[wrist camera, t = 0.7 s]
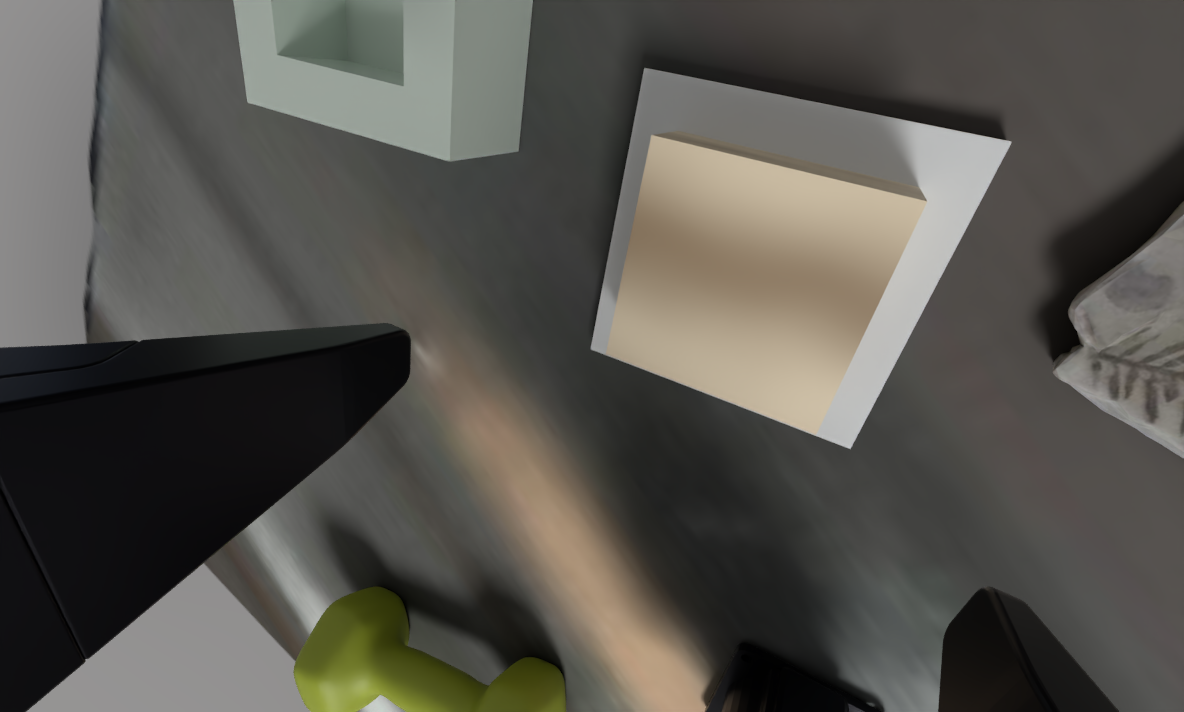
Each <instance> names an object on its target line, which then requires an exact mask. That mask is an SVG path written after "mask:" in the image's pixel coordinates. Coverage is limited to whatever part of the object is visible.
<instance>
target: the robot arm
mask: <svg viewBox="0 0 1184 712" xmlns="http://www.w3.org/2000/svg"><path fill="white" fill-rule="evenodd" d="M410 354H411V339H410V336H409V333H408V332H407V331H405V330H403V329H401V328H399V327H396V326H394V325H392V324H388V323H380V324H366V325H351V326H337V327H323V328H308V329H294V330H279V331H265V332H251V333H236V334H222V335H208V336H193V337H179V338H164V339H150V340H142V341H140V342H138V341H120V342H106V343H89V344H72V345H55V346H31V347H8V348H7V347H6V348H0V712H26V711H27V710H29V709H30V708H31V707H32V706H33V705H35V704H36V703H37V702H38V701H39V700H41V699H42V698H43V697H44V696H45V695H47V694H48V693H49V692H50V691H51V690H52V689H54V688H55V687H56V686H57V685H59V684H60V683H61V682H62V681H63V680H64V679H66V678H67V677H68V676H69V675H71V674H72V673H73V672H74V671H75V670H77V669H78V668H79V667H80V666H81V665H82V664H84V663H85V659H89V658H90V657H91V656H92V655H94V654H95V653H96V652H97V651H99V650H100V649H101V648H102V647H103V646H105V645H106V644H107V643H108V642H109V641H111V640H112V639H113V638H114V637H115V636H116V635H118V634H119V633H120V632H121V631H123V630H124V629H125V628H126V627H127V626H129V625H130V624H131V623H132V622H133V621H135V620H136V619H137V618H138V617H139V616H140V615H142V614H143V613H144V612H145V611H146V610H148V609H149V608H150V607H151V606H153V605H154V604H155V603H156V602H157V601H159V600H160V599H161V598H162V597H163V596H165V595H166V594H167V593H168V592H169V591H171V590H172V589H173V588H174V587H175V586H176V585H178V584H179V583H180V582H181V581H183V580H184V579H185V578H186V577H187V576H189V575H190V574H191V573H192V572H193V571H195V570H196V569H197V568H198V567H199V566H200V565H202V564H203V563H204V562H205V561H207V560H208V559H209V558H210V557H211V556H213V555H214V554H215V553H216V552H217V551H219V550H220V549H221V548H222V547H223V546H225V545H226V544H227V543H228V542H229V541H231V540H232V539H233V538H234V537H235V536H237V535H238V534H239V533H240V532H241V531H243V530H244V529H245V528H246V527H247V526H249V525H250V524H251V523H252V522H253V521H255V520H256V519H257V518H258V517H259V516H261V515H262V514H263V513H264V512H265V511H267V510H268V509H269V508H270V507H271V506H273V505H274V504H275V503H276V502H277V501H279V500H280V499H281V498H282V497H283V496H285V495H286V494H287V493H288V492H289V491H291V490H292V489H293V488H294V487H295V486H297V485H298V484H299V483H300V482H301V481H303V480H304V479H305V478H306V477H307V476H309V475H310V474H311V473H312V472H313V471H315V470H316V469H317V468H318V467H319V466H321V465H322V464H323V463H324V462H325V461H327V460H328V459H329V458H330V457H331V456H333V455H334V454H335V453H336V452H337V451H338V450H339V449H341V448H342V447H343V446H344V445H345V444H346V443H347V442H348V441H349V440H350V439H351V438H353V437H354V436H355V435H356V434H357V433H358V432H359V431H360V430H361V429H362V428H363V427H364V426H365V425H366V423H367V422H368V421H369V420H370V419H371V418H372V417H373V416H374V415H375V414H376V413H377V412H378V411H379V410H380V409H381V408H382V407H383V406H384V405H385V404H386V403H387V402H388V401H389V400H390V399H391V398H392V397H393V396H394V395H395V394H396V393H397V392H398V391H399V390H400V389H401V388H402V387H403V386H404V385H405V383H406V382H407V380H408V378H409V375H410ZM705 712H881V711H879V710H877V709H875V708H873V707H871V706H869V705H868V704H866V703H864V702H862V701H860V700H858V699H856V698H854V697H852V696H850V695H848V694H846V693H844V692H842V691H840V690H839V689H837V688H835V687H833V686H831V685H829V684H827V683H825V682H823V681H821V680H819V679H817V678H815V677H813V676H811V675H809V674H808V673H806V672H804V671H802V670H800V669H798V668H796V667H794V666H792V665H790V664H788V663H786V662H784V661H782V660H780V659H779V658H777V657H775V656H773V655H771V654H769V653H767V652H765V651H763V650H761V649H759V648H757V647H755V646H753V645H751V644H749V643H741V644H739V645H738V647H737V649H736V651H735V652H734V654H733V656H732V658H731V660H730V662H729V664H728V666H727V668H726V670H725V672H724V674H723V676H722V678H721V680H720V682H719V684H718V686H717V688H716V690H715V692H714V694H713V695H712V697H711V699H710V701H709V703H708V705H707V707H706V710H705ZM938 712H1119V711H1118V709H1117V708H1116V707H1115V706H1114V705H1113V704H1112V702H1111V701H1110V700H1109V699H1108V698H1107V697H1106V695H1105V694H1104V693H1103V692H1102V691H1101V690H1100V688H1099V687H1098V686H1097V685H1096V684H1095V683H1094V681H1093V680H1092V679H1091V678H1090V677H1089V676H1088V675H1087V673H1086V672H1085V671H1084V670H1083V669H1082V668H1081V666H1080V665H1079V664H1078V663H1077V662H1076V661H1075V659H1074V658H1073V657H1072V656H1071V655H1070V654H1069V652H1068V651H1067V650H1066V649H1065V648H1064V647H1063V645H1062V644H1061V643H1060V642H1059V641H1058V640H1057V638H1056V637H1055V636H1054V635H1053V634H1052V633H1051V631H1050V630H1049V629H1048V628H1047V627H1046V626H1045V625H1044V623H1043V622H1042V621H1041V620H1040V619H1039V618H1038V616H1037V615H1036V614H1035V613H1034V612H1033V611H1032V609H1031V608H1030V607H1029V606H1028V605H1027V604H1026V603H1025V602H1023V601H1022V600H1020V599H1018V598H1016V597H1013V596H1011V595H1009V594H1007V593H1004V592H1002V591H1000V590H997V589H995V588H993V587H982V588H981V589H979V590H978V591H977V592H976V593H975V594H974V595H973V596H972V597H971V599H970V600H969V601H968V602H967V603H966V605H965V606H964V607H963V608H962V609H961V611H960V612H959V613H958V614H957V615H956V617H955V618H954V619H953V620H952V621H951V623H950V624H949V626H948V627H947V629H946V632H945V635H944V639H943V650H942V664H941V679H940V694H939V709H938Z"/></svg>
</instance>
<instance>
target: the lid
mask: <svg viewBox="0 0 1184 712" xmlns="http://www.w3.org/2000/svg"><path fill="white" fill-rule="evenodd" d="M926 204H927V200H926V198H925V196H924V194H923V193H922V191H921V189H920V187H916V186H912V185H907V184H903V183H899V182H895V181H890V180H886V179H882V178H877V177H873V176H869V175H865V174H860V173H856V172H852V171H848V170H843V169H839V168H835V167H831V166H826V165H822V164H818V163H814V162H809V161H805V160H801V159H796V158H792V157H788V156H784V155H779V154H775V153H771V152H767V151H762V150H758V149H754V148H750V147H745V146H741V145H737V144H733V143H728V142H724V141H720V140H715V139H711V138H707V137H703V136H698V135H694V134H690V133H686V132H681V131H674V132H667V133H661V134H655V135H651V140H650V145H649V149H648V154H647V159H646V164H645V169H644V173H643V178H642V183H641V188H640V193H639V197H638V202H637V207H636V212H635V216H634V221H633V226H632V231H631V236H630V240H629V245H628V250H627V255H626V260H625V264H624V269H623V274H622V279H621V283H620V288H619V293H618V298H617V303H616V307H615V312H614V317H613V322H612V327H611V331H610V336H609V341H608V346H607V350H606V355H609V356H612V357H614V358H617V359H619V360H622V361H625V362H627V363H630V364H632V365H635V366H638V367H640V368H643V369H645V370H648V371H651V372H653V373H656V374H658V375H661V376H664V377H666V378H669V379H671V380H674V381H677V382H679V383H682V384H685V385H687V386H690V387H692V388H695V389H698V390H700V391H703V392H705V393H708V394H711V395H713V396H716V397H718V398H721V399H724V400H726V401H729V402H731V403H734V404H737V405H739V406H742V407H744V408H747V409H750V410H752V411H755V412H758V413H760V414H763V415H765V416H768V417H771V418H773V419H776V420H778V421H781V422H784V423H786V424H789V425H791V426H794V427H797V428H799V429H802V430H804V431H807V432H810V433H812V434H815V435H816V434H817V432H818V430H819V428H820V426H821V424H822V422H823V419H824V417H825V415H826V413H827V411H828V409H829V407H830V405H831V403H832V401H833V399H834V396H835V394H836V392H837V390H838V388H839V386H840V384H841V382H842V380H843V378H844V375H845V373H846V371H847V369H848V367H849V365H850V363H851V361H852V359H853V357H854V354H855V352H856V350H857V348H858V346H859V344H860V342H861V340H862V338H863V336H864V334H865V331H866V329H867V327H868V325H869V323H870V321H871V319H872V317H873V315H874V313H875V310H876V308H877V306H878V304H879V302H880V300H881V298H882V296H883V294H884V292H885V289H886V287H887V285H888V283H889V281H890V279H891V277H892V275H893V273H894V271H895V269H896V266H897V264H898V262H899V260H900V258H901V256H902V254H903V252H904V250H905V248H906V245H907V243H908V241H909V239H910V237H911V235H912V233H913V231H914V229H915V227H916V224H917V222H918V220H919V218H920V216H921V214H922V212H923V210H924V208H925V206H926Z"/></svg>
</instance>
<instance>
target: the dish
mask: <svg viewBox="0 0 1184 712" xmlns="http://www.w3.org/2000/svg"><path fill="white" fill-rule="evenodd" d="M233 1H234V8H235V16H236V23H237V30H238V37H239V44H240V52H241V59H242V66H243V73H244V80H245V88H246V95H247V102H248V103H251V104H254V105H258V106H261V107H265V108H268V109H271V110H275V111H278V112H282V113H285V114H289V115H292V116H295V117H299V118H302V119H306V120H309V121H312V122H316V123H319V124H323V125H326V126H330V127H333V128H336V129H340V130H343V131H347V132H350V133H353V134H357V135H360V136H364V137H367V138H371V139H374V140H377V141H381V142H384V143H388V144H391V145H395V146H398V147H401V148H405V149H408V150H412V151H415V152H418V153H422V154H425V155H429V156H432V157H436V158H439V159H442V160H446V161H449V162H450V161H457V160H464V159H471V158H478V157H485V156H492V155H499V154H506V153H512V152H519V142H520V132H521V121H522V111H523V100H524V89H525V79H526V68H527V58H528V47H529V37H530V26H531V15H532V5H533V0H233Z"/></svg>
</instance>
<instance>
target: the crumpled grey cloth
mask: <svg viewBox="0 0 1184 712" xmlns="http://www.w3.org/2000/svg"><path fill="white" fill-rule="evenodd" d="M1068 314H1069V318H1070V320H1071V322H1072V324H1073V326H1074V327H1075V329H1076V331H1077V333H1078V336H1079V340H1080V345H1078V346H1075V347H1072V349H1071V351H1069V352H1066V353H1062V354H1061V355H1060V356H1059V357H1057V358H1056V359H1055V361H1054V363H1053V365H1054V368H1053V373H1054V375H1055V376H1056V377H1057V378H1059V379H1060V380H1062V381H1064V382H1066V383H1068V384H1069V385H1071V386H1072V387H1073V388H1074V389H1075V390H1077V391H1078V392H1079V393H1081V394H1082V395H1083V396H1084V397H1086V398H1087V399H1088V400H1090V401H1091V402H1092V403H1094V404H1095V405H1096V406H1097V407H1099V408H1100V409H1101V410H1103V411H1105V412H1106V413H1108V414H1110V415H1112V416H1114V417H1116V418H1118V419H1120V420H1122V421H1123V422H1125V423H1127V424H1129V425H1131V426H1132V427H1134V428H1136V429H1137V430H1139V431H1140V432H1142V433H1143V434H1144V435H1146V436H1147V437H1149V438H1151V439H1153V440H1154V441H1156V442H1158V443H1160V444H1161V445H1163V446H1164V447H1166V448H1168V449H1169V450H1171V451H1172V452H1174V453H1176V454H1177V455H1179V456H1180V457H1182V458H1184V201H1183V202H1182V203H1181V204H1180V205H1179V206H1178V207H1177V208H1176V210H1175V211H1174V212H1173V213H1172V214H1171V215H1170V217H1169V218H1168V219H1167V220H1166V221H1165V222H1164V223H1163V225H1162V226H1161V227H1160V228H1159V229H1158V230H1157V232H1156V233H1155V234H1154V235H1153V236H1152V237H1151V238H1150V239H1149V240H1148V241H1146V242H1145V243H1144V244H1143V245H1142V246H1141V247H1140V248H1139V249H1138V250H1137V251H1136V252H1135V253H1133V254H1132V255H1131V256H1130V257H1128V258H1127V259H1125V260H1124V261H1123V262H1121V263H1120V264H1118V265H1117V266H1116V267H1114V268H1113V269H1111V270H1110V271H1109V272H1107V273H1106V274H1104V275H1103V276H1102V277H1100V278H1099V279H1097V280H1096V281H1094V282H1093V283H1091V284H1090V285H1089V286H1087V287H1086V288H1084V289H1083V290H1081V291H1080V292H1079V293H1078V294H1077V296H1076V297H1075V298H1074V300H1073V301H1072V303H1071V305H1070V307H1069V310H1068Z"/></svg>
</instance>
